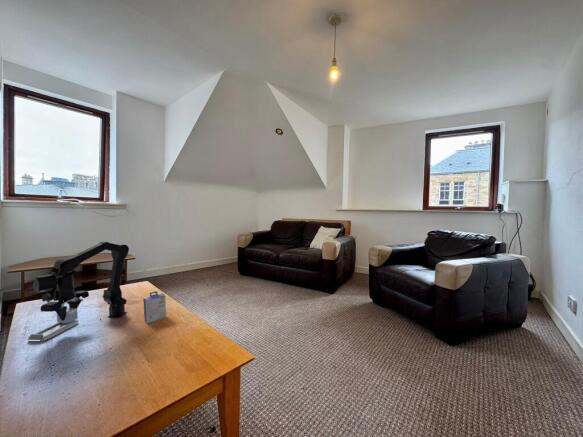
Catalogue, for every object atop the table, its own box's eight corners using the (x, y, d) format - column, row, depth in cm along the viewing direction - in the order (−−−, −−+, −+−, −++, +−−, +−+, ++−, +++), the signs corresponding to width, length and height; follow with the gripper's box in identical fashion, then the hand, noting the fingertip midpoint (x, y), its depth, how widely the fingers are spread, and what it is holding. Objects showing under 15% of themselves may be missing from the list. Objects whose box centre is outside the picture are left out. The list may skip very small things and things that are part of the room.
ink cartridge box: (163, 314, 138) (162, 289, 137) (167, 317, 134) (166, 291, 133) (143, 320, 131) (142, 293, 130) (146, 324, 127) (145, 296, 126)
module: (65, 318, 119) (65, 308, 119) (77, 318, 119) (77, 308, 119) (57, 322, 115) (56, 312, 115) (69, 322, 115) (69, 312, 115)
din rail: (78, 323, 128) (77, 313, 128) (44, 341, 111) (43, 329, 111) (64, 323, 128) (63, 313, 128) (28, 341, 111) (27, 329, 111)
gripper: (67, 279, 126) (69, 309, 127) (27, 292, 107) (29, 327, 108) (88, 279, 125) (90, 309, 126) (52, 293, 107) (54, 328, 108)
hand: (67, 318), depth 117 cm, fingers closed on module, 4 cm apart
